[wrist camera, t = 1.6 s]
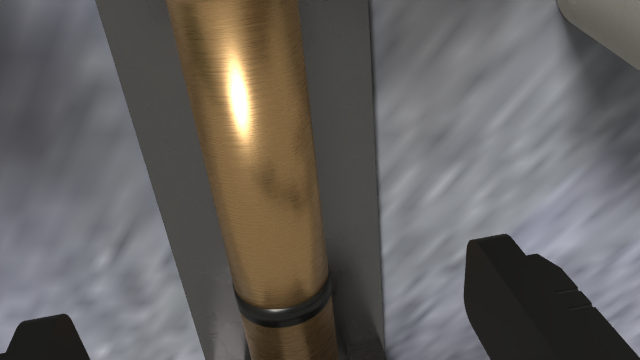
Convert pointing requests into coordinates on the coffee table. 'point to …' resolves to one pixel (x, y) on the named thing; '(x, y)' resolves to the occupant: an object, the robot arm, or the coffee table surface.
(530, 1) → the coffee table surface
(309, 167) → the tube
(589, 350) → the robot arm
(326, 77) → the dark grey holder
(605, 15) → the dixie cup
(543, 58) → the coffee table surface
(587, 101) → the coffee table surface
